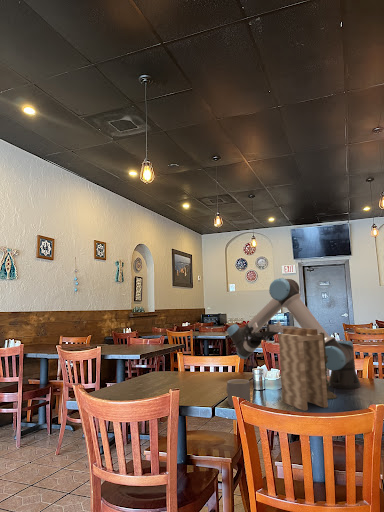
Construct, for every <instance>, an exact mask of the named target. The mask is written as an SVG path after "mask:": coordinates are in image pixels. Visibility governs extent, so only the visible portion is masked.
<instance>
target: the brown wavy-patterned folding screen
mask: <svg viewBox="0 0 384 512" xmlns="http://www.w3.org/2000/svg"><path fill="white" fill-rule="evenodd" d="M278 347H279V364H280V381H281V382H280V383H281V396H282V397H281V399H282V403H284V404H287V405H289V406H292V407H294V408H296V409H299V410H300V411H303V412H304V411H308V409H309V408H308V403H311V404H313V405H315V406H318V407H321V408H329V404H328V400H329V399H327V387H326V374H325V360H324V347H323V335H321V334H318V333H317V329H307V328H301V327H298V329H289V328H283V333H278Z"/></svg>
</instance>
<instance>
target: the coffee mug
mask: <svg viewBox="0 0 384 512" xmlns="http://www.w3.org/2000/svg"><path fill="white" fill-rule="evenodd" d="M226 393H227V405H228V404H229V405H230V406H229V405H228V406H229V407H231V406H233V401H232V396H236V397H240V398H243V399H245V400H247V401H249V402H251V401H252V400H251V386H250V380H248V379H244V378H243V379H242V378H241V379H240V378H239V379H238V378H237V379H235V378H234V379H229V380H227V382H226Z"/></svg>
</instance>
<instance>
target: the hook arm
mask: <svg viewBox="0 0 384 512" xmlns="http://www.w3.org/2000/svg"><path fill="white" fill-rule="evenodd" d="M283 328H289V329H298V328H299V326H293V325H282V324H281V325H276V324H273V323H270V324H269V323H266V331H267V332H279V334H283Z"/></svg>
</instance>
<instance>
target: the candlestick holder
mask: <svg viewBox="0 0 384 512" xmlns="http://www.w3.org/2000/svg"><path fill="white" fill-rule="evenodd" d="M320 334H321V335H323V347H324V360H325V374H326V387H327V400H335V399H337V398H338V396H337V394H335V393H334V392H332V391H330V390H329V387H330V386H329V384H330V383H329V380H328V379H327V378H328V374H327V373H328V372H327V370H328V369H327V368H326V363H327V362H328V360H327V358H328V356H326V349H325V336H324V333H322V332H321V333H320Z"/></svg>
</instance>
